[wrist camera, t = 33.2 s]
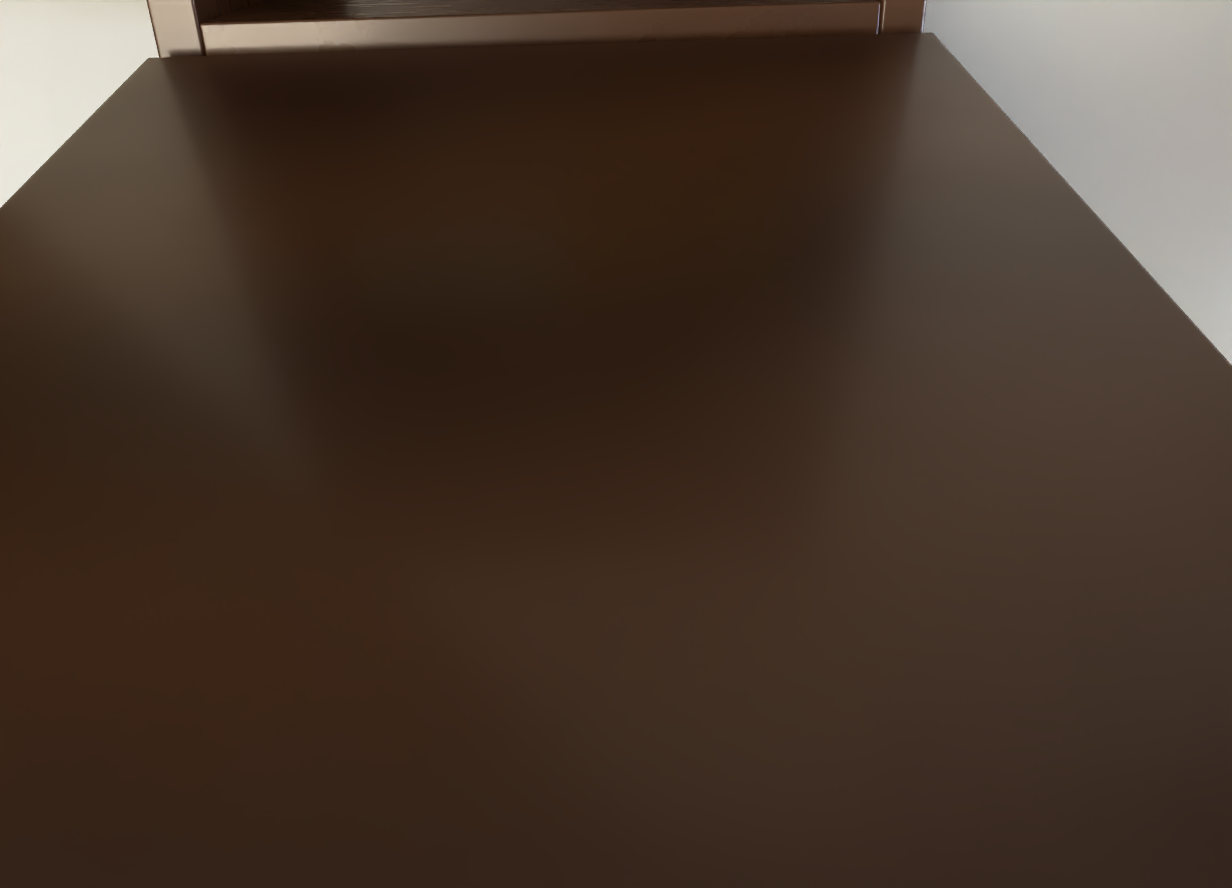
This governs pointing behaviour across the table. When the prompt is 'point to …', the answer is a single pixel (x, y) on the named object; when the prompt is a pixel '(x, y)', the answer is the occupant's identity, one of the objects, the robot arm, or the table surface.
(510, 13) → the chest
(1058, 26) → the table surface
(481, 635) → the lid
